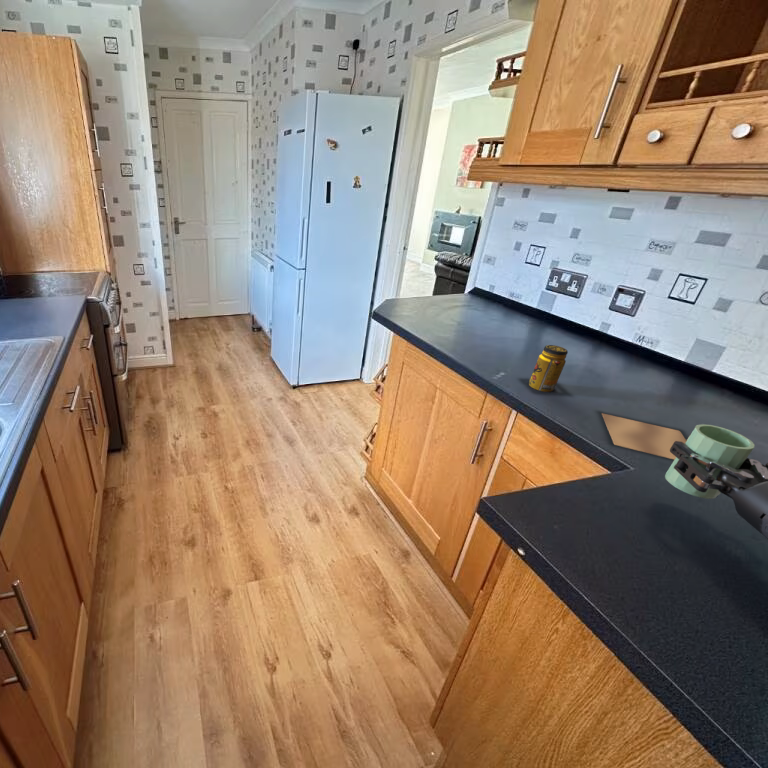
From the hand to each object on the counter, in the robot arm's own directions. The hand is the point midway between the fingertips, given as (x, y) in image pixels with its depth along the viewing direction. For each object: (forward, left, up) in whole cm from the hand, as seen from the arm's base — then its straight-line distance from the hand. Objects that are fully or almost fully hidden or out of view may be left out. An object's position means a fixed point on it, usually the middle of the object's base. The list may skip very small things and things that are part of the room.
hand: (698, 448), depth 68 cm
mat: (-4, -26, -13) cm, 29 cm away
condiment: (+15, -42, -13) cm, 46 cm away
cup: (-1, +2, -6) cm, 6 cm away
